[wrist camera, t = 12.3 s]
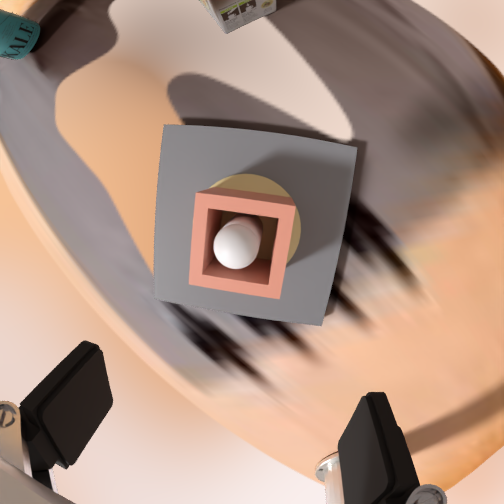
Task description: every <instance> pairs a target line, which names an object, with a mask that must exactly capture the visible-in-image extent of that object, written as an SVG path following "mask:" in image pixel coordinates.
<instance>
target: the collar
mask: <svg viewBox="0 0 504 504" xmlns="http://www.w3.org/2000/svg"><path fill="white" fill-rule="evenodd" d="M295 208H296V206H295V203H294V201H293V199H292V198H291V197H284V196H278V195H271V194H264V193H257V192H250V191H243V190H235V189H227V188H219V187H212V188H209V189H206V190H202V191H199V192H196V195H195V205H194V216H193V228H192V240H191V254H190V270H189V284H190V285H195V286H201V287H206V288H212V289H218V290H224V291H230V292H236V293H242V294H248V295H255V296H261V297H268V298H274V299H280V295H281V289H282V284H283V279H284V273H285V267H286V262H287V256H288V250H289V245H290V239H291V233H292V227H293V221H294V215H295ZM222 210H225V211H232V212H240V213H247V214H254V215H261V216H267V217H274V218H277V224H276V231H275V237H274V243H273V250H272V256H271V260H267V259H261V258H255V259H254V261H253V262H252V263H251V264H250V265H248V266H246V267H244V268H241V269H232V268H228V267H226V266H224V265H223V264H221V263H220V262H219V260H218V259H217V257H216V255H215V253H214V240H215V237H216V235H217V234H218V232H219V231H220V228H221V219H222Z"/></svg>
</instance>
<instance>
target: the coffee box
mask: <svg viewBox="0 0 504 504" xmlns="http://www.w3.org/2000/svg"><path fill="white" fill-rule="evenodd" d="M199 1H200V2H201V3H202V5H203V6H204V7H205V8H206V9H207V11H208V12H209V13H210V15H211V16H212V17H213V18H214V20H215V21H216V22H217V24H218V25H219V26H220V28H221V29H222V30H223V31H224V33H226V34H227V33H230V32H232V31H234V30H235V29H238V28H240V27H241V26H244V25H246V24H248V23H250V22H252V21H254V20H257V19H259V18H261V17H263V16H265V15H268V14H270V13H272V12H274V11H276V0H199Z"/></svg>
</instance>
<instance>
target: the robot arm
mask: <svg viewBox="0 0 504 504" xmlns="http://www.w3.org/2000/svg"><path fill="white" fill-rule="evenodd" d="M112 404H113V397H112V394H111V389H110V386H109V381H108V376H107V372H106V367H105V362H104V356H103V352H102V350H100V348H99V346H98V345H97V344H94V343H91V342H88V341H83V342H81V343H80V344H79V345H78V346H77V347H76V348H75V349H74V350H73V351H72V352H71V353H70V354H69V355H68V356H67V357H66V358H64V360H62V361H61V362H60V363H59V365H57V366H56V368H54V369H53V370H52V371H51V372H50V373H49V374H48V375H47V376H46V377H45V378H44V379H43V380H42V381H41V382H40V383H39V384H38V386H36V387H35V388H34V389H33V391H32V392H31V393H30V394H29V395H28V396H27V397H26V398H25V399H24V400H23V401H22V402H21V403H20V405H21V406H20V407H19V408H18V407H17V406H16V405H15V404H13V403H12V402H9V401H0V504H75V503H73V502H72V501H70V500H68V499H66V498H64V497H63V496H61V495H59V494H58V490H57V487H56V482H55V478H54V474H53V469H52V467H53V466H54V464H55V463H56V464H57V465H59V466H61V467H63V468H65V469H67V468H68V467H69V465H73V464H74V463H75V462H76V460H77V458H78V457H79V456H80V454H81V453H82V451H83V450H84V448H85V446H86V445H87V443H88V442H89V440H90V439H91V437H92V436H93V434H94V433H95V431H96V430H97V428H98V426H99V425H100V423H101V422H102V420H103V419H104V417H105V416H106V414H107V413H108V411H109V410H110V408H111V407H112ZM315 475H316V477H317V478H318V479H319V480H321V481H323V482H325V491H326V504H447V497H446V495H445V492H444V491H443V490H442V489H441V488H439V487H438V486H435V485H431V484H425V485H422V486H420V483H419V480H418V477H417V474H416V471H415V468H414V464H413V461H412V458H411V455H410V452H409V450H408V447H407V444H406V441H405V438H404V435H403V432H402V430H401V428H400V427H399V426H397V423H396V420H395V418H394V415H393V412H392V410H391V407H390V404H389V402H388V399H387V396H386V394H385V393H384V392H368V393H367V395H366V396H363V397H362V398H361V400H360V402H359V404H358V406H357V408H356V410H355V412H354V414H353V416H352V418H351V420H350V421H349V423H348V425H347V427H346V429H345V431H344V433H343V434H342V436H341V438H340V440H339V442H338V452H337V453H335V454H332V455H330V456H328V457H326V458H325V459H323V460H322V461H321V462H320V463H318V465H317V466H316V468H315Z"/></svg>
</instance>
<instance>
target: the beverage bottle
mask: <svg viewBox="0 0 504 504" xmlns="http://www.w3.org/2000/svg"><path fill="white" fill-rule="evenodd" d="M39 34H40V26H39V25H38V23H36V21H35V22H34V21H31V20H29V19H26V18H24V16H23V17H21V16H18V15H16V14H13V12H12V13H9V12H7V11H4V10H1V9H0V57H4V58H5V57H6V58H7V57H8V59H9V58H11V59H13V60H14V59H21V58H23V57H25V56H26V55H27V54H28V53H29V52H30V51H31V49H32V48H33V46H34V45H35V43H36V41H37V39H38V37H39Z"/></svg>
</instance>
